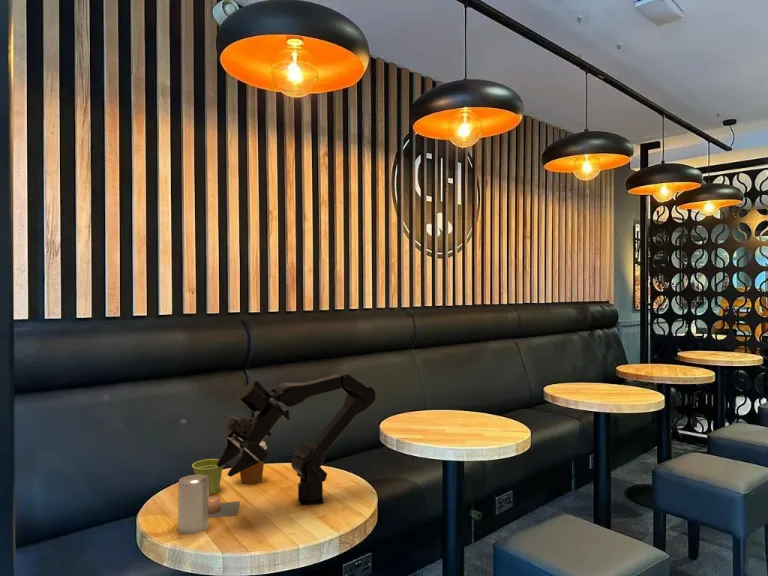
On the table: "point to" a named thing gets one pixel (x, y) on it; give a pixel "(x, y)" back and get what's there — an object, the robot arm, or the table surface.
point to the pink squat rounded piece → (214, 504)
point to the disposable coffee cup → (253, 471)
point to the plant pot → (209, 473)
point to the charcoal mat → (226, 510)
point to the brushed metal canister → (193, 504)
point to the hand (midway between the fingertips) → (223, 470)
